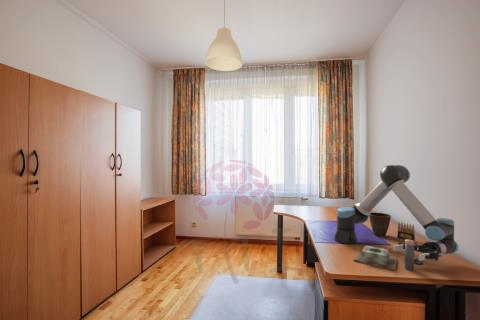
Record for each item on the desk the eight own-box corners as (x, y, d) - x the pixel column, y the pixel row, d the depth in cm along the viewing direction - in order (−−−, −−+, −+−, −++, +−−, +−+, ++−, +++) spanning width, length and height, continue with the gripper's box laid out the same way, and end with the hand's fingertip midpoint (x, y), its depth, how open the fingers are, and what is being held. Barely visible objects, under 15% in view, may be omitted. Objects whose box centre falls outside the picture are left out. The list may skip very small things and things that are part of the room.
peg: (404, 269, 128) (404, 240, 128) (405, 266, 131) (405, 238, 131) (414, 271, 125) (414, 242, 125) (414, 268, 129) (414, 240, 129)
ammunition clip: (415, 240, 176) (415, 224, 176) (414, 241, 175) (414, 224, 175) (398, 237, 184) (398, 221, 184) (397, 237, 183) (397, 221, 183)
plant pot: (391, 239, 179) (392, 217, 179) (369, 236, 186) (369, 215, 186) (389, 234, 193) (389, 213, 193) (368, 231, 199) (368, 211, 200)
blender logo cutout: (404, 258, 144) (404, 257, 144) (418, 259, 143) (418, 258, 143) (412, 264, 135) (412, 263, 135) (428, 266, 133) (428, 264, 133)
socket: (353, 261, 138) (353, 250, 138) (358, 252, 151) (358, 243, 151) (395, 270, 126) (395, 259, 126) (397, 260, 139) (397, 250, 139)
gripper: (460, 264, 123) (432, 269, 115) (411, 247, 146) (384, 251, 139) (460, 249, 123) (432, 254, 116) (411, 235, 146) (385, 238, 139)
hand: (406, 252), depth 127 cm, fingers open, 13 cm apart
